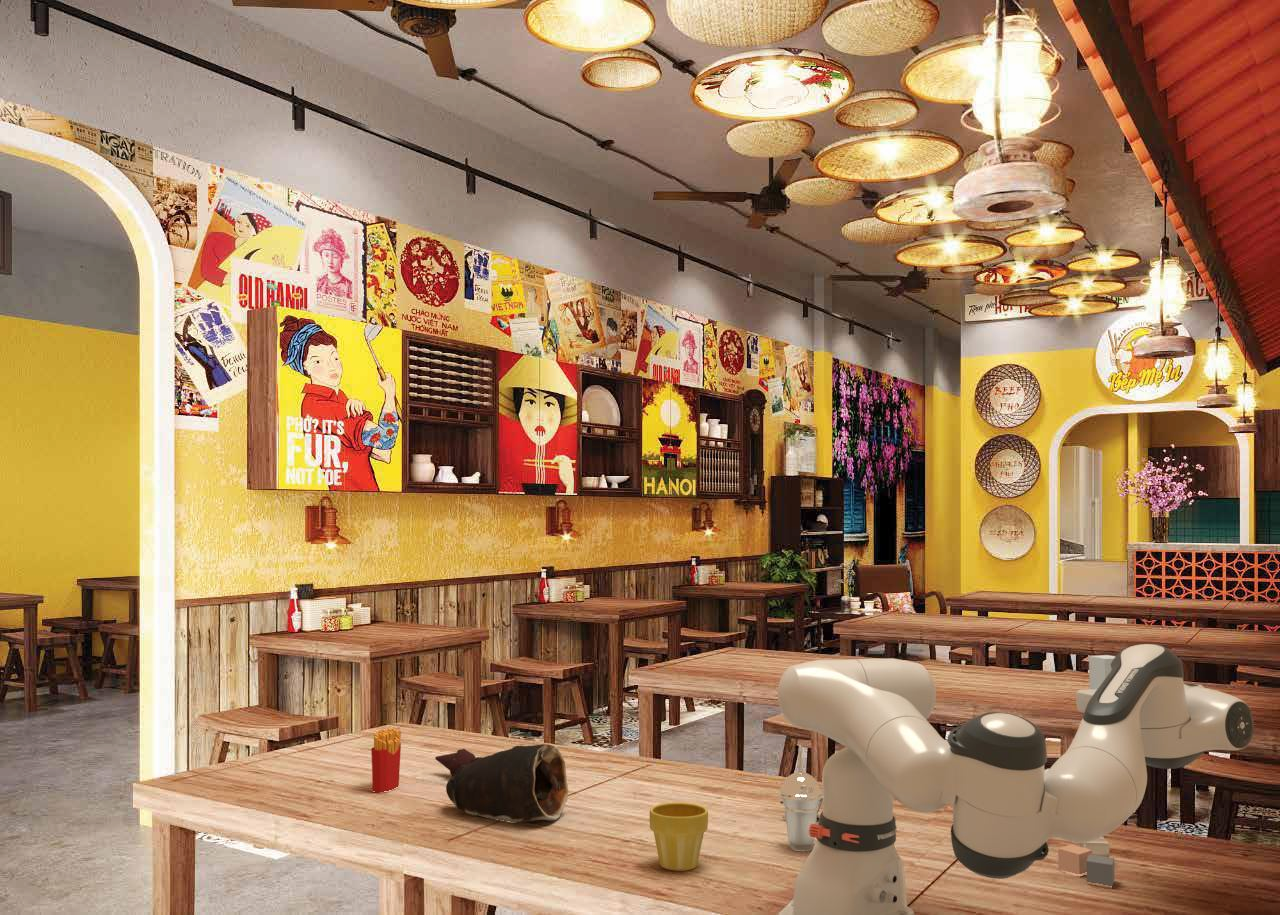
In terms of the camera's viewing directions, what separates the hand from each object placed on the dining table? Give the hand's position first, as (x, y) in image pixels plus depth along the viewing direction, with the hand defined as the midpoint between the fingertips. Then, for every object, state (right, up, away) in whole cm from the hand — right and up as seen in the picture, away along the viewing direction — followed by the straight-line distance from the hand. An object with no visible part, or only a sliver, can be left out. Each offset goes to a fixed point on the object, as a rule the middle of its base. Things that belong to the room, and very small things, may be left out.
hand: (1103, 693), depth 188 cm
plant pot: (-75, -31, +1) cm, 81 cm away
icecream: (-124, -34, +62) cm, 143 cm away
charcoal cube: (-4, -31, -7) cm, 32 cm away
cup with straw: (-52, -32, +11) cm, 62 cm away
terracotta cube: (-6, -31, -2) cm, 32 cm away
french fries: (-139, -33, +52) cm, 152 cm away
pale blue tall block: (0, -9, -1) cm, 10 cm away
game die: (-48, -33, +30) cm, 65 cm away
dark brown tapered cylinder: (-110, -32, +32) cm, 119 cm away
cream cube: (0, -31, +4) cm, 32 cm away
